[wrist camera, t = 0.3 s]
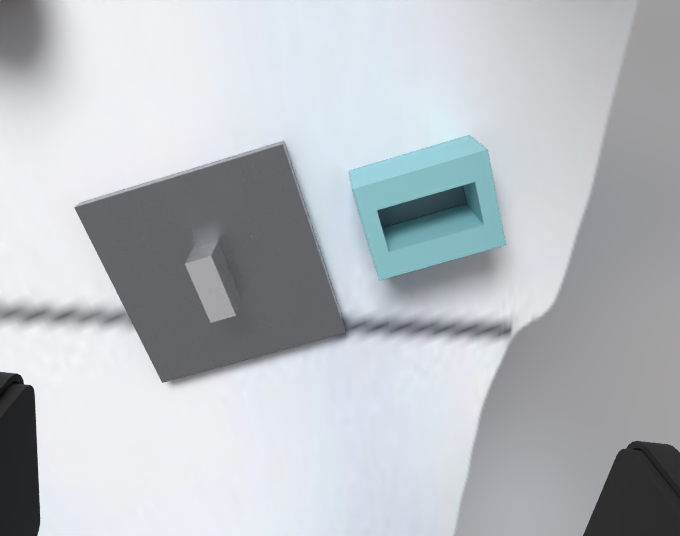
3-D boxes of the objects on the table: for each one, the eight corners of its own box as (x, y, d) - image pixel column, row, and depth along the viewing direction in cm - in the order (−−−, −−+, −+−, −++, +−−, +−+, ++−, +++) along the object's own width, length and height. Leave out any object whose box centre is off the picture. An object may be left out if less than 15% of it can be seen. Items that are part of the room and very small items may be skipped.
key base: (80, 202, 43) (57, 220, 40) (283, 140, 42) (280, 153, 38) (165, 374, 50) (152, 404, 46) (345, 325, 48) (347, 352, 44)
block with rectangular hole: (372, 254, 46) (379, 280, 41) (348, 170, 43) (352, 189, 39) (486, 221, 45) (505, 245, 41) (469, 135, 42) (487, 149, 38)
